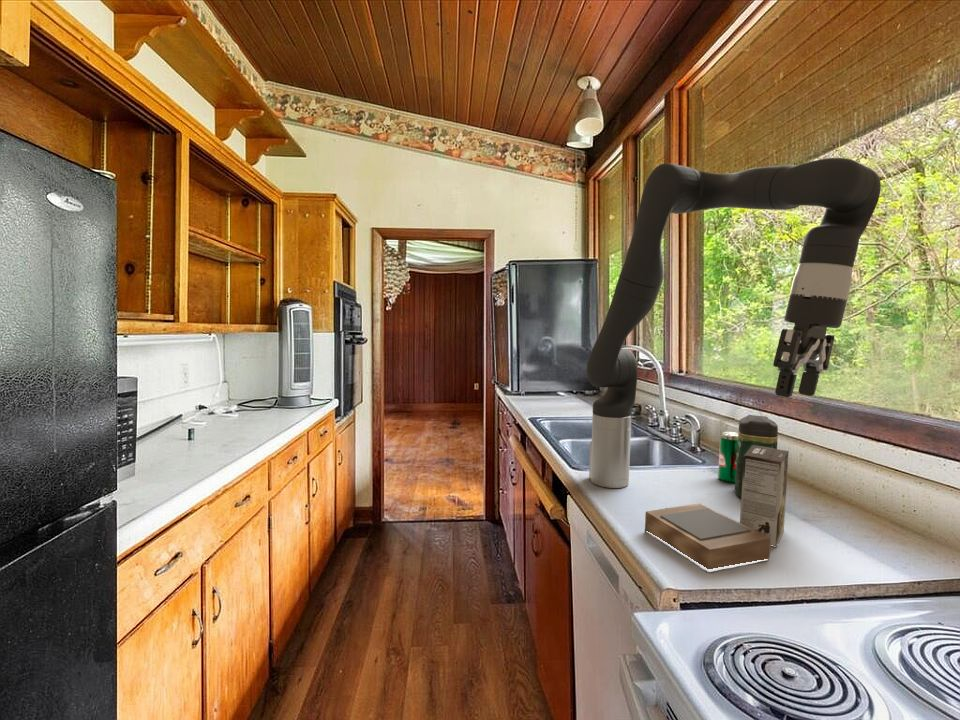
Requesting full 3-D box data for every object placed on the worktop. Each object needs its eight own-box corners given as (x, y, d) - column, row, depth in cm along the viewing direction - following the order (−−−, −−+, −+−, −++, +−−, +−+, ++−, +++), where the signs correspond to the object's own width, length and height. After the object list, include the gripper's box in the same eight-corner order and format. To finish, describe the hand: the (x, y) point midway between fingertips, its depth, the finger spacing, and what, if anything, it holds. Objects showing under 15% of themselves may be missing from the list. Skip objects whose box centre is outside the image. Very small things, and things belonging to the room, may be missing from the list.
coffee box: (747, 522, 99) (752, 444, 97) (784, 531, 95) (790, 450, 93) (737, 537, 92) (742, 454, 90) (777, 548, 88) (782, 460, 86)
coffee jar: (775, 505, 107) (781, 422, 106) (735, 499, 111) (740, 419, 109) (771, 491, 116) (776, 414, 114) (733, 486, 119) (738, 411, 118)
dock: (644, 531, 94) (645, 509, 94) (698, 522, 98) (699, 501, 98) (708, 573, 79) (709, 547, 79) (768, 560, 83) (770, 536, 83)
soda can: (716, 476, 127) (718, 430, 126) (738, 478, 125) (740, 432, 124) (719, 482, 122) (722, 435, 121) (742, 484, 121) (745, 437, 119)
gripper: (810, 297, 84) (789, 389, 86) (772, 288, 75) (749, 390, 78) (863, 301, 78) (838, 400, 80) (827, 292, 69) (801, 403, 72)
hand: (794, 395), depth 79 cm, fingers open, 8 cm apart
